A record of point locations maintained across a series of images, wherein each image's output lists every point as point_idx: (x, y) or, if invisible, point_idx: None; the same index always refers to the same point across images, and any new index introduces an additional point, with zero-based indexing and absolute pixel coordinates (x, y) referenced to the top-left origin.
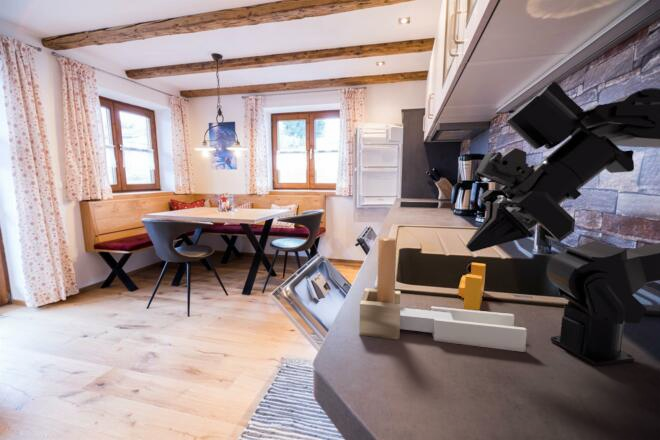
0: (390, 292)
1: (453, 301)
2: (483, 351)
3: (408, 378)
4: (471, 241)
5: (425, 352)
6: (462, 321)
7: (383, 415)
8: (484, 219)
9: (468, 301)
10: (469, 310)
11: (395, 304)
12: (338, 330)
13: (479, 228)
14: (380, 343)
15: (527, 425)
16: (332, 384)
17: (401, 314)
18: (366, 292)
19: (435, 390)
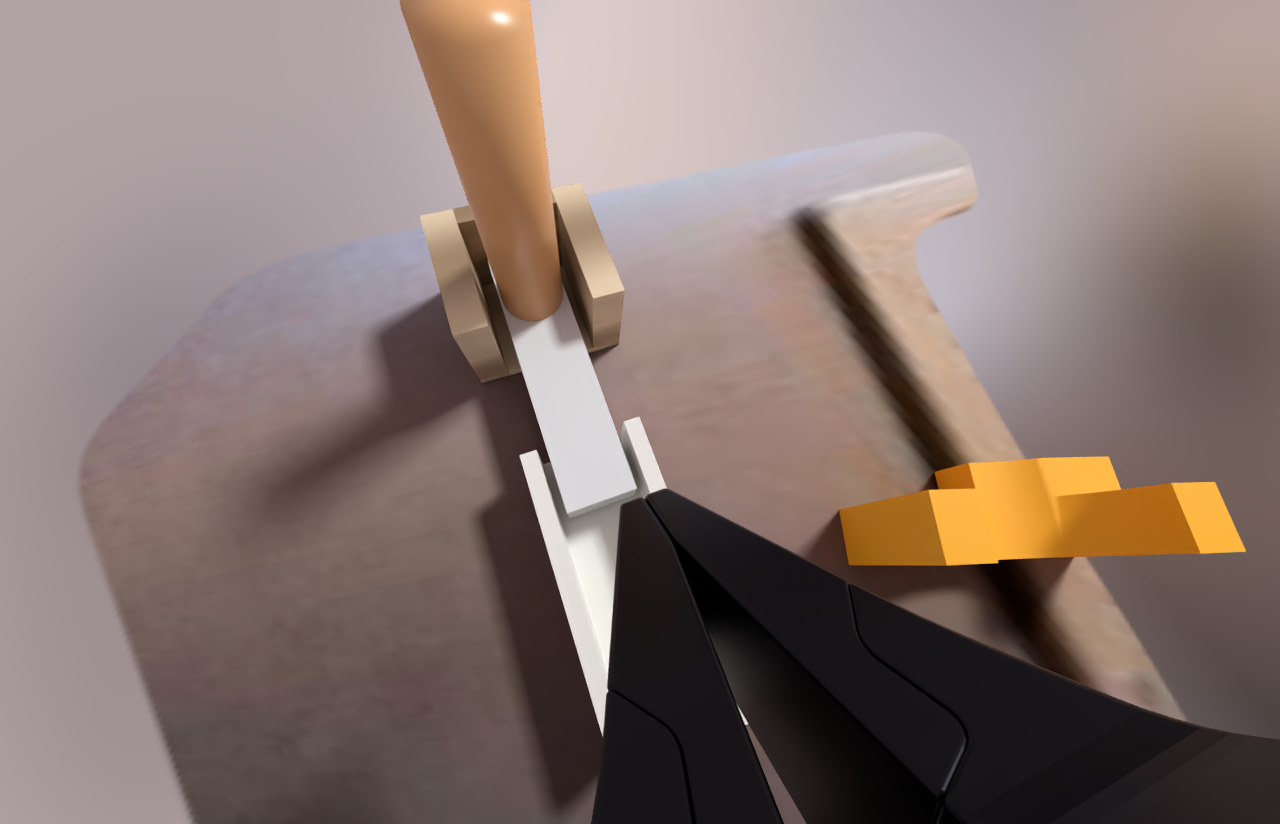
0: (495, 268)
1: (882, 464)
2: (544, 620)
3: (296, 460)
4: (631, 533)
5: (448, 465)
6: (560, 544)
7: (130, 452)
8: (1036, 676)
9: (859, 522)
10: None
11: (475, 312)
12: None
13: (790, 600)
14: (437, 346)
15: (210, 772)
16: (200, 319)
17: (524, 347)
18: None
19: (271, 533)
